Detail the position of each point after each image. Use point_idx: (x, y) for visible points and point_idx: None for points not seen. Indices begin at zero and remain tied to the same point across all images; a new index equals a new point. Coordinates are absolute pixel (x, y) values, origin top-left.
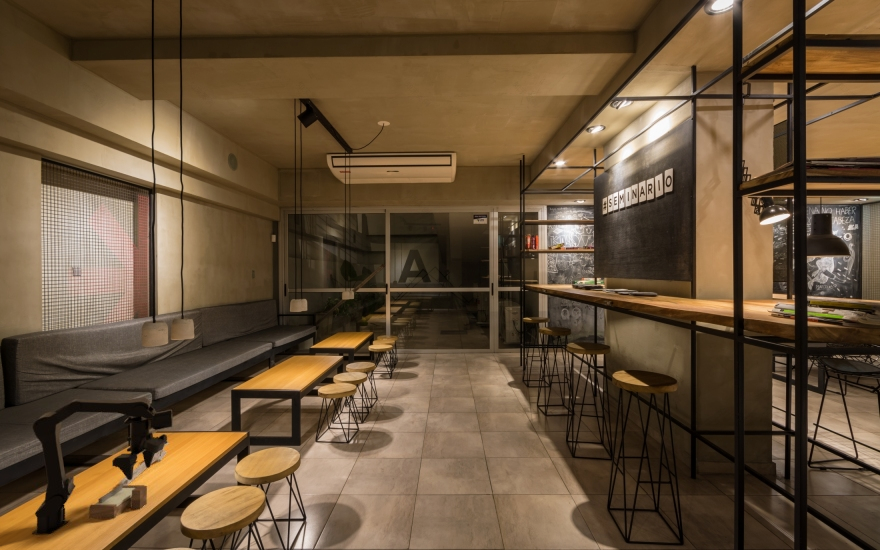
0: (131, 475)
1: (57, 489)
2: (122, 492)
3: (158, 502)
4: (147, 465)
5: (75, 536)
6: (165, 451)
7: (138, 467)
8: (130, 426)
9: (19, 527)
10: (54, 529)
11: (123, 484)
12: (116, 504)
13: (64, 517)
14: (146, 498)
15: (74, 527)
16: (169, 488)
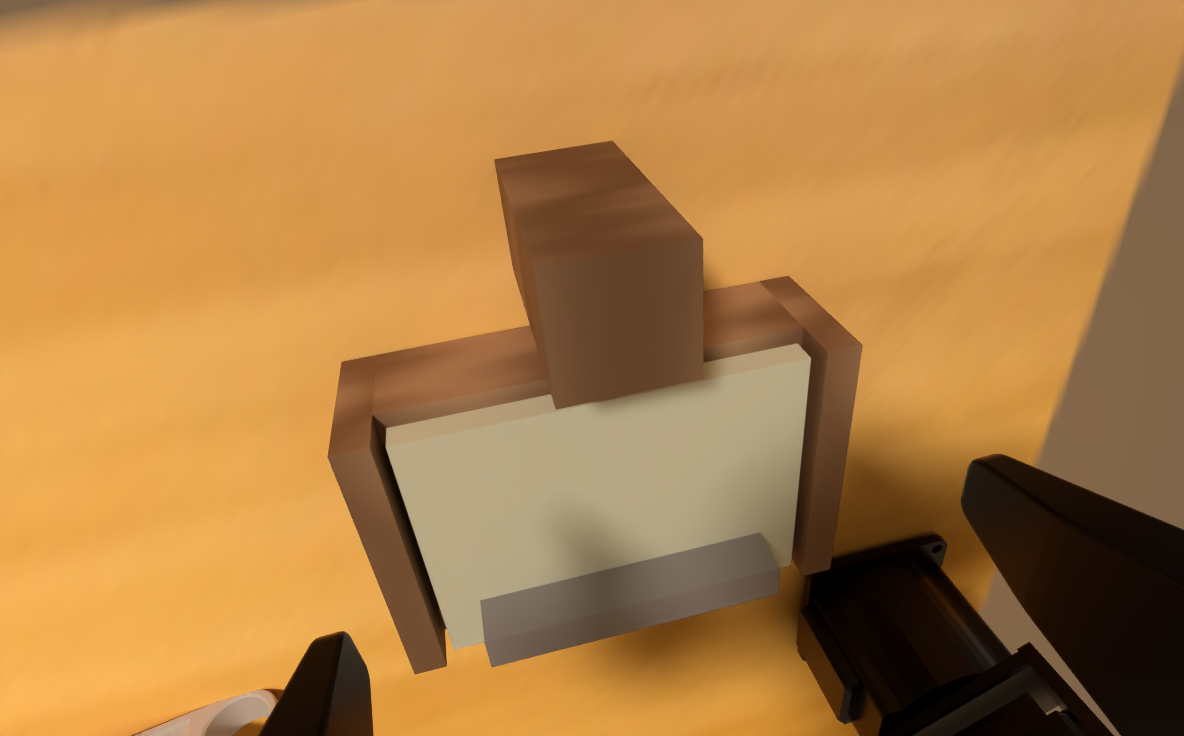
0: (1120, 515)
1: None
2: (540, 542)
3: (422, 4)
4: (355, 716)
5: (1016, 342)
6: None
7: None
8: None
9: (827, 728)
10: (914, 550)
11: (236, 729)
12: (826, 352)
13: (817, 619)
14: (508, 186)
15: (883, 466)
16: (24, 193)
